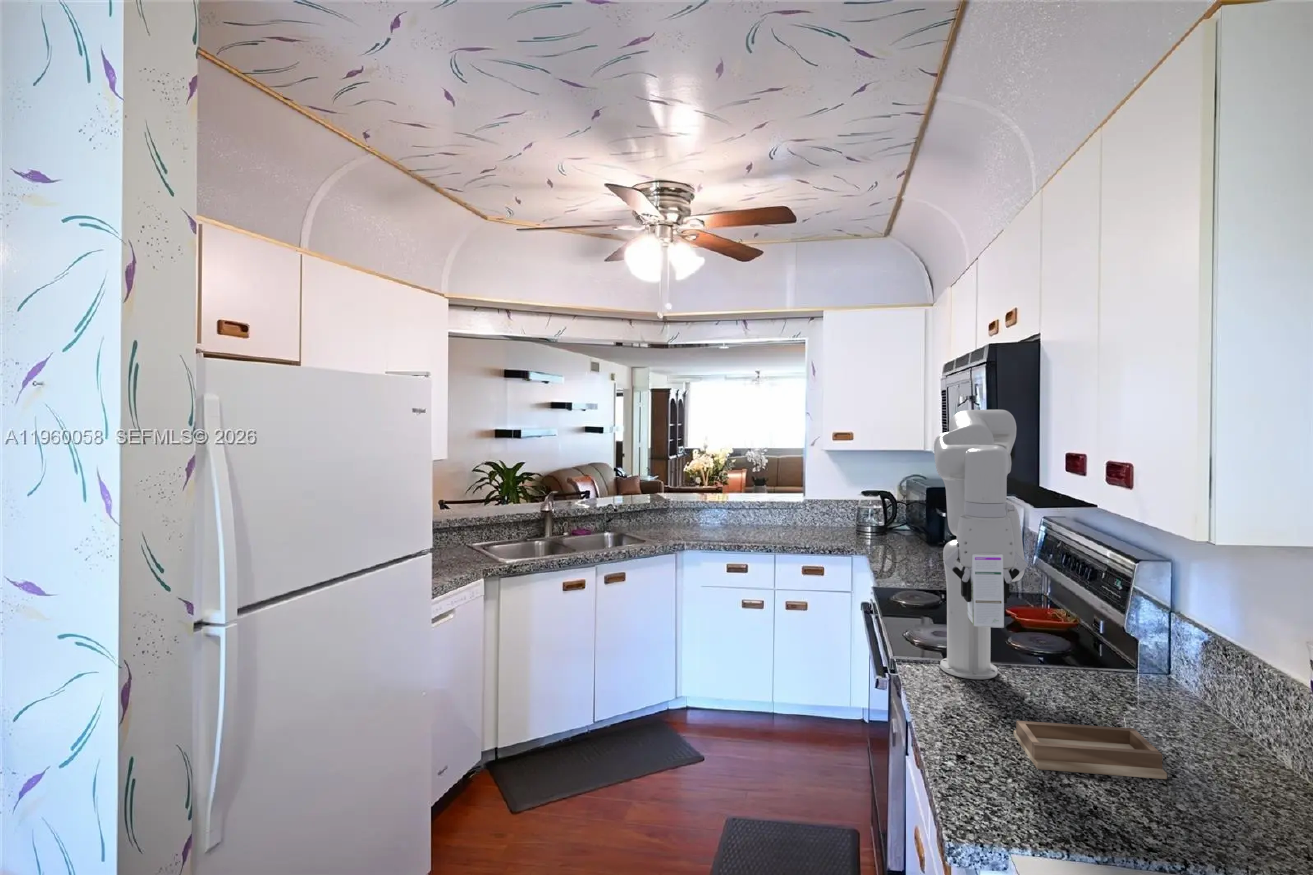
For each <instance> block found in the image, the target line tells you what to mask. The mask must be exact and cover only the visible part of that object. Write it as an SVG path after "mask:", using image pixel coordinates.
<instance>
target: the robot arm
mask: <svg viewBox="0 0 1313 875" xmlns="http://www.w3.org/2000/svg"><path fill="white" fill-rule="evenodd" d="M1016 437H1017V423H1016V419H1015V417H1014V415H1013V414H1012V413H1011V412H1010V411H1009V410H1006V409H965V410H961V411H958V412H957V413H955V414H953V416H952V417H951V418H950V420H949V422H948V431H946V432H943V433H940V434H939V435H938V436H937V437H935V440H934V444H933V453H934V454H933V456H934V463H935V469H936V472H937V474H938V476H939V478H941V480H942V481H943V484H944V487H945V496H946V497H945V498H946V515H947V525H948V529H949V531H950V533H951V534H952V535H953V536H956V538H955V539H952V540H949V541H948V542H946V544H945V545H944V547H943V551H942V557H943V558H942V560H943V566H944V572H945V580H946V657H945V658H943V659H941V660H940V661H939V667H940V669H941V670H942V671H943V672H945V673H947V674H949V675H951V676H954V677H958V678H963V679H968V680H990V679H993V678H995V677H997V676H998V671H999V670H998V667H997V666H995V665H994V664H993V663H991V627H977V626H974V625H973V624H972V623H971V622H970V620H969V619H968V618H967V602H971V582H970V581H969V577H970V575H971V567H972V555H973V554H978V553H997V554H1002V555H1003V582H1004V604H1007V603H1008V599H1010V589H1011V588H1010V586H1011V585H1010V584H1011V583H1012V582H1018V581H1019V580H1021V579H1022V578H1023V576H1024V574H1025V569H1026V568H1028V566H1029V564H1028V562H1027V561H1026V560H1025V552H1024V544H1023V536H1022V529H1021V520H1020V515H1019V511H1018V509H1017V507H1016V505H1015V504H1013V503H1012V502H1010V501H1008V500H1007V496H1008V495H1007V494H1008V493H1007V487H1008V486H1007V485H1008V484H1007V481H1008V479H1007V478H1008V474H1010V473H1011V471H1012V456H1011V453H1012V449H1013V447H1014V444H1015V441H1016Z"/></svg>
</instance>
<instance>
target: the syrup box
mask: <svg viewBox="0 0 1313 875" xmlns="http://www.w3.org/2000/svg"><path fill="white" fill-rule="evenodd" d="M969 581H970V582H971V602H967V618H968V619H969V620H970V622H971V623H972V624H973V625H974V626H977V627H990V628H998V629H1000V628H1001V629H1003V628H1005V603H1004V582H1003V555H1002V554H997V553H978V554H973V555H972V567H971V575H970V577H969Z"/></svg>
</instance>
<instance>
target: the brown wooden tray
mask: <svg viewBox="0 0 1313 875" xmlns="http://www.w3.org/2000/svg"><path fill="white" fill-rule="evenodd" d="M1015 727H1016V728H1015V729H1014V730H1013V736H1014V739H1016V740H1017V742H1018V744H1019V745H1020V746H1021V748H1022V750H1023V751H1024V752H1025V754H1026V755H1027V756H1028V759H1030V761H1031V762H1032V764H1033V765H1034V766H1035V768H1036V770H1045V771H1054V772H1055V771H1057V772H1067V773H1068V772H1070V773H1081V774H1083V773H1084V774H1092V775H1093V774H1095V775H1096V774H1097V775H1106V776H1107V775H1108V776H1120V777H1121V776H1122V777H1134V778H1143V779H1144V778H1146V779H1161V780H1168V772H1166V771H1165V770H1164V769H1163V754H1162V753H1161V751H1160V750H1158V749H1157V748H1156V747H1155V746H1154V745H1153V744H1151V743H1150V742H1149V741H1148V740H1147V739H1146V738H1145V737H1144V736H1143V735H1142V734H1141V733H1139V731H1137V729H1135V728H1133V727H1132V728H1131V727H1121V726H1119V727H1117V726H1106V725H1105V726H1103V725H1101V726H1100V725H1090V724H1089V725H1087V724H1075V723H1074V724H1072V723H1059V722H1058V723H1057V722H1046V721H1045V722H1042V721H1030V720H1029V721H1028V720H1027V721H1026V720H1016V721H1015Z"/></svg>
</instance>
